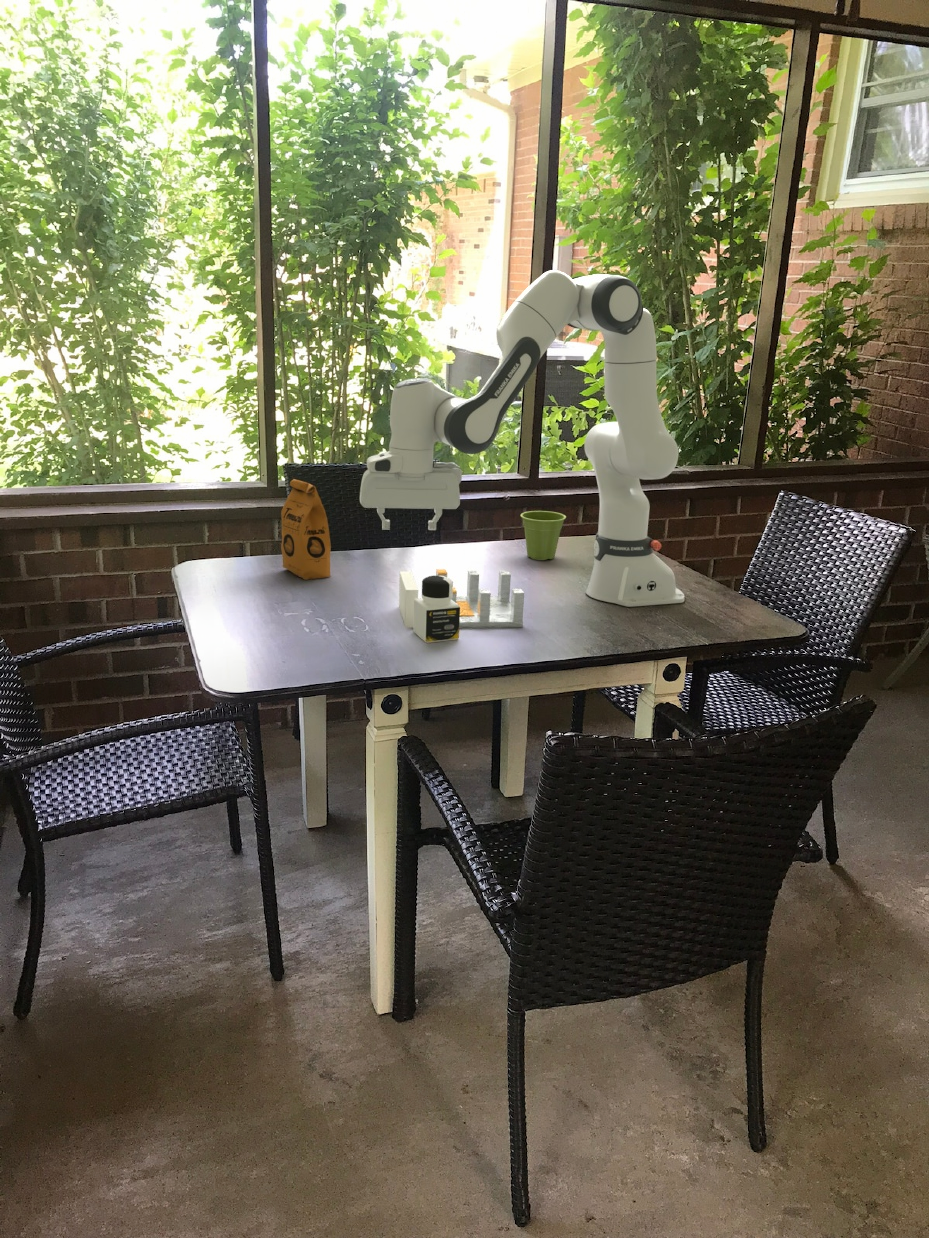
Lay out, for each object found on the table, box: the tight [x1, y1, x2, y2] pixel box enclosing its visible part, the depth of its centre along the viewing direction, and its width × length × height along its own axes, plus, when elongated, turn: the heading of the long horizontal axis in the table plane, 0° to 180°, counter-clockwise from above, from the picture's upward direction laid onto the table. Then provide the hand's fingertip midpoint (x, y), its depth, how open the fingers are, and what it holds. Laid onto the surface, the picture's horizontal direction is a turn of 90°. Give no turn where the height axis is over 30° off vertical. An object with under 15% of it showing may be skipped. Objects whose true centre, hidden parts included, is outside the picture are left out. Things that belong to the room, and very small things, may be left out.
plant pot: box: [520, 510, 567, 561], centre depth 253 cm, size 12×12×11 cm
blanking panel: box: [398, 570, 419, 628], centre depth 202 cm, size 2×14×8 cm, turn 9°
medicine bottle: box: [412, 575, 460, 644], centre depth 190 cm, size 7×7×12 cm
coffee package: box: [280, 478, 332, 581], centre depth 228 cm, size 10×12×22 cm
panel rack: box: [435, 568, 525, 629], centre depth 205 cm, size 16×18×8 cm
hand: (409, 529), depth 197 cm, fingers open, 8 cm apart
